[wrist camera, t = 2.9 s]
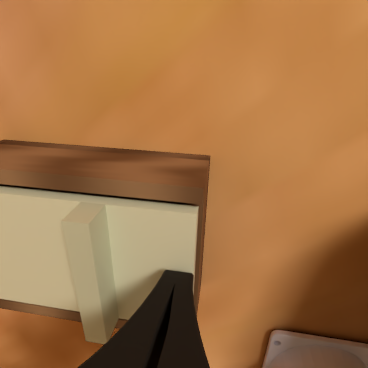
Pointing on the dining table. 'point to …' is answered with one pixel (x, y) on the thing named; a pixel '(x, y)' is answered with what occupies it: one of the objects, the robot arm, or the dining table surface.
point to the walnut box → (107, 187)
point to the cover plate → (90, 252)
